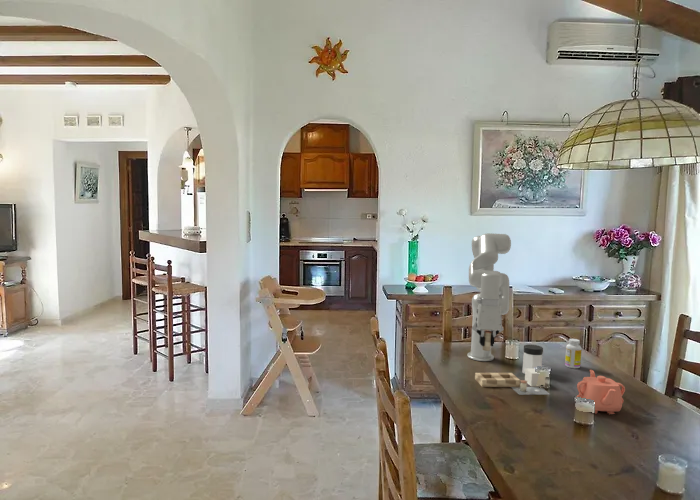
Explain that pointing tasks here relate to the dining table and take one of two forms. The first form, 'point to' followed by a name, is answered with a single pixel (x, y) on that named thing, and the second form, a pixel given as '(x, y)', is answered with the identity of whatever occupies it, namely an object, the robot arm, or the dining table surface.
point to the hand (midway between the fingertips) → (486, 345)
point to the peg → (487, 340)
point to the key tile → (529, 389)
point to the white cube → (531, 377)
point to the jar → (532, 357)
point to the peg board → (497, 380)
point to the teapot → (602, 392)
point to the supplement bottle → (573, 354)
